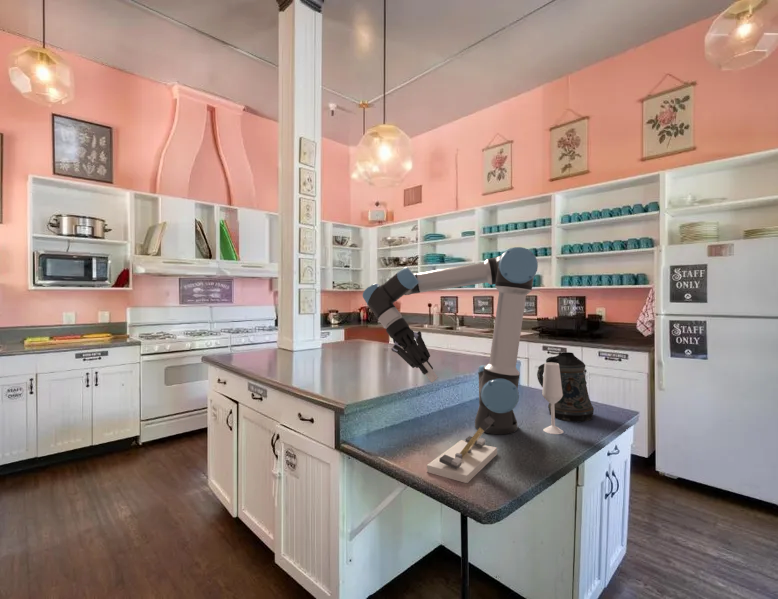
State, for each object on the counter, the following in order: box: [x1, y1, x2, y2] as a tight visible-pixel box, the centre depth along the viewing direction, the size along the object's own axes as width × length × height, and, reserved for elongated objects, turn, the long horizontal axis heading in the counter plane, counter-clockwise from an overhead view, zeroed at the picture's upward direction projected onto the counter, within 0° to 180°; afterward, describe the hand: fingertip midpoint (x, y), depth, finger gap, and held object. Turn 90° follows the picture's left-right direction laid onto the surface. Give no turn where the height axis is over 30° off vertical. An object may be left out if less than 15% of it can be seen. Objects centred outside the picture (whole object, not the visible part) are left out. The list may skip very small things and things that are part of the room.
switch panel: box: [426, 439, 498, 484], centre depth 113 cm, size 22×12×4 cm, turn 144°
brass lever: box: [460, 416, 495, 457], centre depth 111 cm, size 4×2×14 cm
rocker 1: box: [439, 455, 462, 469], centre depth 106 cm, size 3×5×2 cm, turn 54°
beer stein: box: [536, 351, 595, 423], centre depth 154 cm, size 16×19×25 cm
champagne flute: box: [541, 362, 564, 435], centre depth 137 cm, size 7×7×24 cm
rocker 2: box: [464, 435, 486, 448], centre depth 120 cm, size 3×5×2 cm, turn 54°
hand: (434, 380), depth 128 cm, fingers closed
